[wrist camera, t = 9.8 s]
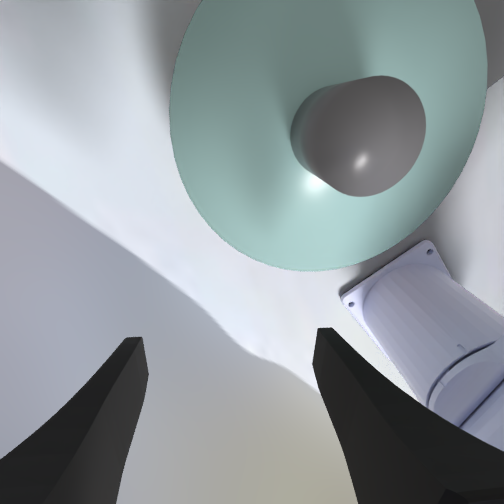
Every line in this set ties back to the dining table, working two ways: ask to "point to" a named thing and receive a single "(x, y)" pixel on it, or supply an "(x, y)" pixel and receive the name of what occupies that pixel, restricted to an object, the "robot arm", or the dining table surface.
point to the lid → (325, 121)
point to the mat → (493, 36)
